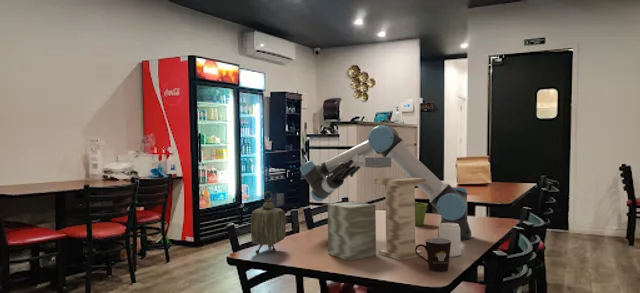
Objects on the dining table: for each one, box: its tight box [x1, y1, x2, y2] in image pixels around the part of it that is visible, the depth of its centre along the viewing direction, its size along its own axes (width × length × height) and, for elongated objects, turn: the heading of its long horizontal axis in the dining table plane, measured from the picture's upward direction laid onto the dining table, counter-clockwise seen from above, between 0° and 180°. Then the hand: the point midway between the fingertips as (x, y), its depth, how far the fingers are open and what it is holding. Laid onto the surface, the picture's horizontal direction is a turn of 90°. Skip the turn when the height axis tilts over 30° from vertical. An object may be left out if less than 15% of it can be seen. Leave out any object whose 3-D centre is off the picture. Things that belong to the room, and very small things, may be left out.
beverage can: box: [438, 222, 462, 258], centre depth 176 cm, size 8×8×12 cm
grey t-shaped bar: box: [346, 156, 392, 169], centre depth 191 cm, size 24×7×4 cm, turn 35°
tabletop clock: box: [250, 190, 287, 255], centre depth 186 cm, size 14×9×25 cm, turn 159°
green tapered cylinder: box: [415, 202, 429, 226], centre depth 243 cm, size 12×12×11 cm
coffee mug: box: [415, 237, 451, 273], centre depth 157 cm, size 12×9×10 cm
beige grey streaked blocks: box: [327, 176, 426, 262], centre depth 178 cm, size 26×28×30 cm
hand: (360, 157), depth 194 cm, fingers closed on grey t-shaped bar, 2 cm apart
